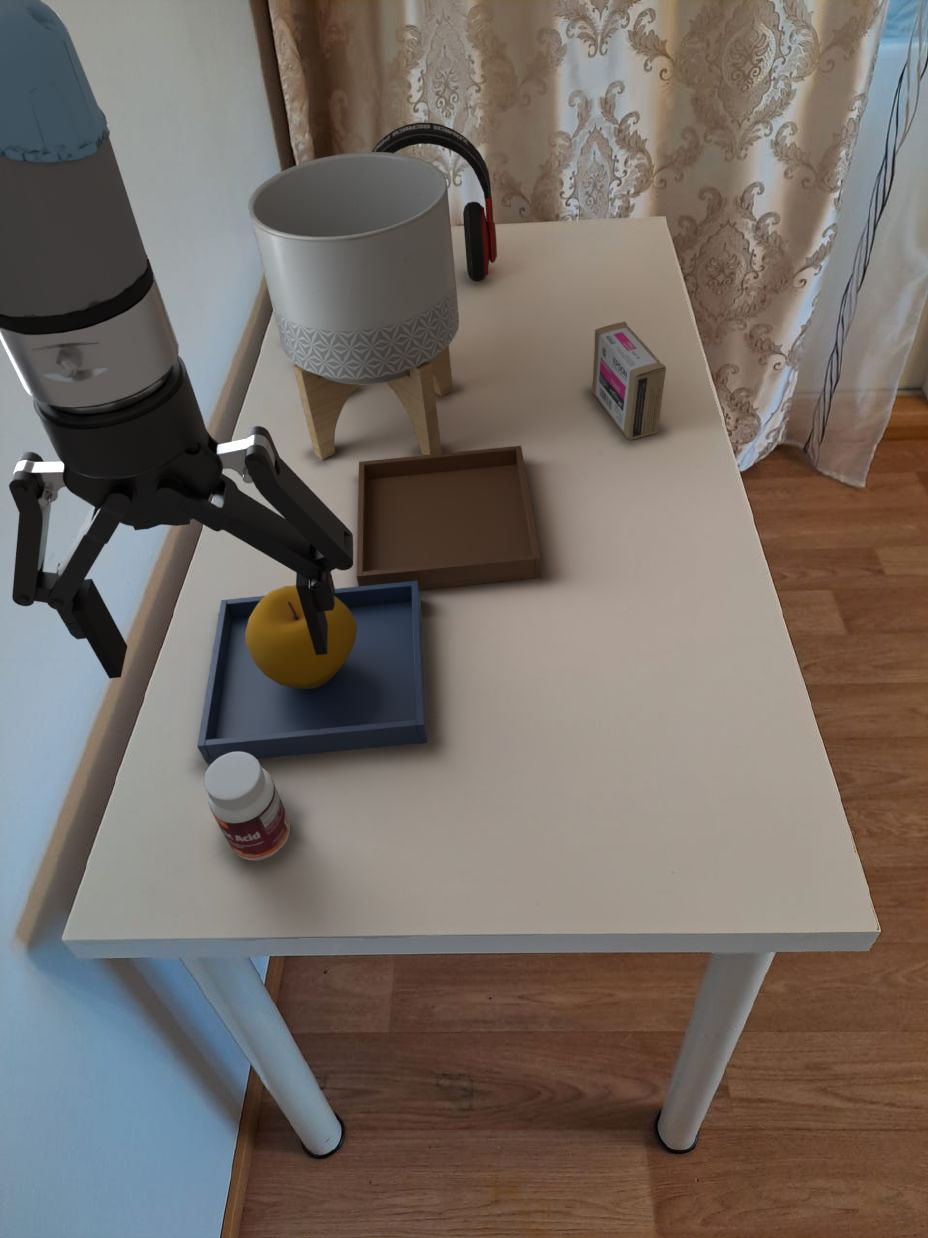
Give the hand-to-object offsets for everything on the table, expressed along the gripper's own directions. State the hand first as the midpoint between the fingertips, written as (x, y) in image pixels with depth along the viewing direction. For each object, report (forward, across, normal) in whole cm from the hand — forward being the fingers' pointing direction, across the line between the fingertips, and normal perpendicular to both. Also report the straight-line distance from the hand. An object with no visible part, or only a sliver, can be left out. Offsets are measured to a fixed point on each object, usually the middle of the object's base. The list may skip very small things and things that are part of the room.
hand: (220, 651), depth 60 cm
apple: (+16, +3, +10) cm, 19 cm away
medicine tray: (+16, +16, +28) cm, 36 cm away
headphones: (+16, +18, +79) cm, 83 cm away
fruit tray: (+16, +4, +10) cm, 20 cm away
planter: (+16, +10, +47) cm, 51 cm away
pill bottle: (+16, -1, -4) cm, 17 cm away
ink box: (+16, +37, +44) cm, 60 cm away
